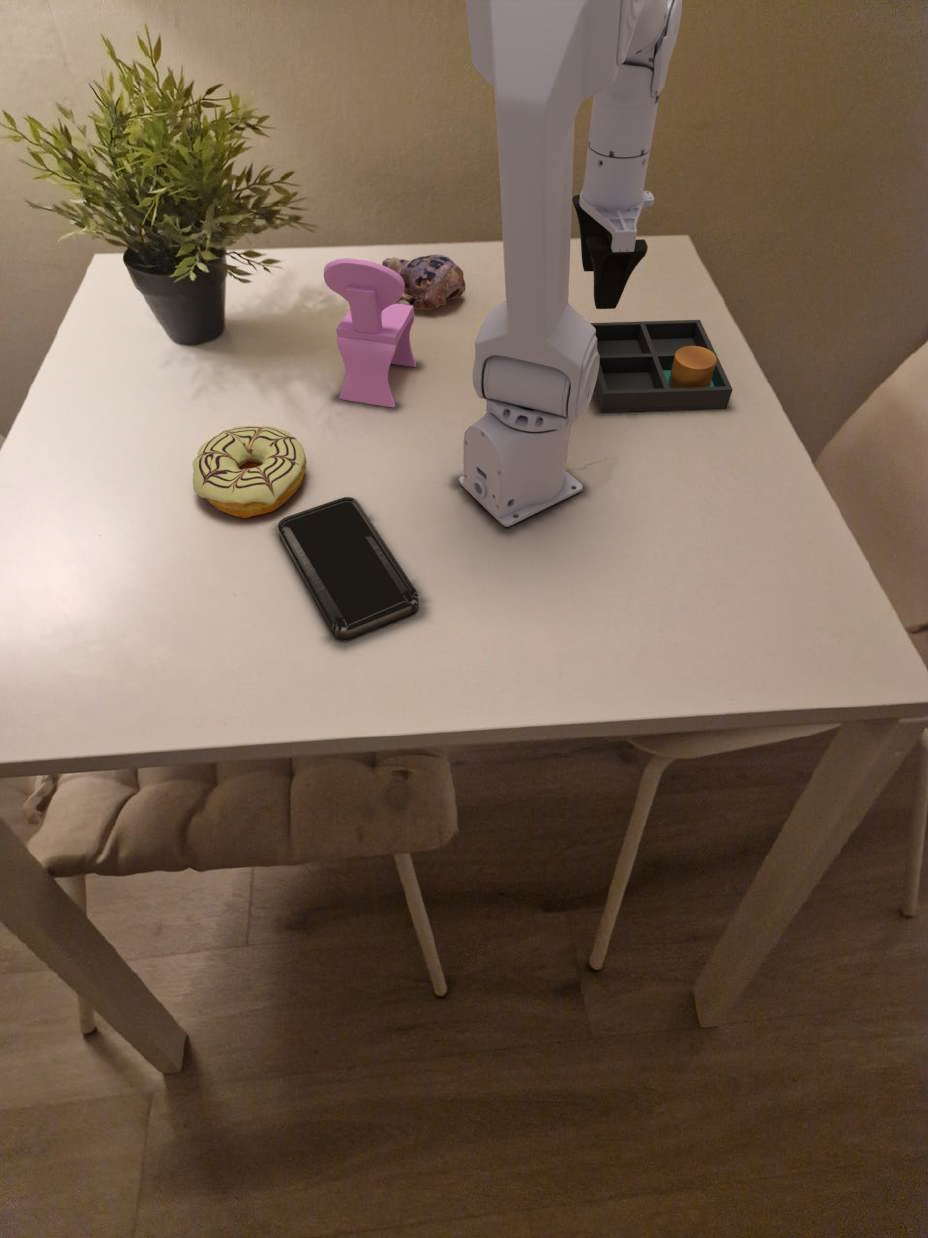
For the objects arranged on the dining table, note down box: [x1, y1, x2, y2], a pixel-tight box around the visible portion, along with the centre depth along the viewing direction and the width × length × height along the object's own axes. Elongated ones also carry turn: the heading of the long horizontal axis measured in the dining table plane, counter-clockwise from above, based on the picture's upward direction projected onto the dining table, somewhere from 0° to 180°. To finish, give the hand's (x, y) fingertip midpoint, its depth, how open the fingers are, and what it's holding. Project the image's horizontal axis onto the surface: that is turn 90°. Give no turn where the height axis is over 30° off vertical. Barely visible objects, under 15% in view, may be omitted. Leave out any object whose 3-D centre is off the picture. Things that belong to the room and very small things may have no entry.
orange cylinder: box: [669, 346, 717, 388], centre depth 86 cm, size 4×4×4 cm
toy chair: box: [323, 257, 417, 409], centre depth 83 cm, size 8×9×15 cm
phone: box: [277, 496, 420, 640], centre depth 70 cm, size 8×1×15 cm
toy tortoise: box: [381, 254, 467, 311], centre depth 98 cm, size 12×8×6 cm, turn 40°
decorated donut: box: [192, 425, 307, 519], centre depth 76 cm, size 10×11×4 cm
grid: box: [589, 319, 734, 414], centre depth 89 cm, size 14×14×2 cm
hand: (599, 287), depth 83 cm, fingers open, 7 cm apart
